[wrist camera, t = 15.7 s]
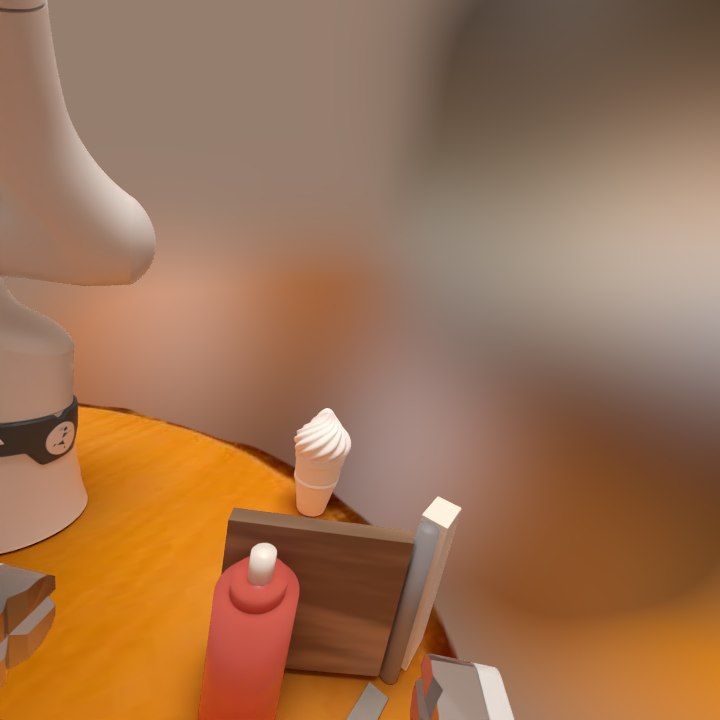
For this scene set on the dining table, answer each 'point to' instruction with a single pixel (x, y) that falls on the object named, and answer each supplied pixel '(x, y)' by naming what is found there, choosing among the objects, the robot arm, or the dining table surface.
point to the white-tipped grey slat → (413, 602)
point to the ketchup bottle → (249, 638)
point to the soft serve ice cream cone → (319, 461)
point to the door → (331, 584)
